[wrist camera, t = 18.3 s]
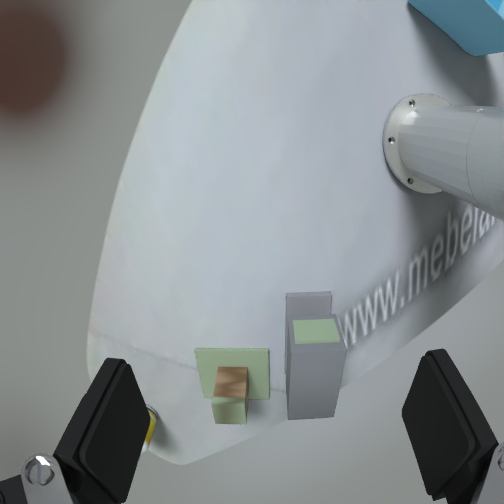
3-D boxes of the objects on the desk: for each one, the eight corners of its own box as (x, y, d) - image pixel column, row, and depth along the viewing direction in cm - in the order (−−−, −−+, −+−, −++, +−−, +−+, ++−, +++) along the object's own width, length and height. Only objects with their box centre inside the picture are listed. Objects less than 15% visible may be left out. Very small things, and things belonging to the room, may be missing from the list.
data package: (481, 37, 27) (536, 25, 16) (471, 58, 28) (528, 49, 17) (414, -20, 25) (457, -54, 14) (402, -1, 26) (446, -34, 15)
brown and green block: (247, 366, 47) (244, 405, 40) (248, 386, 49) (246, 424, 41) (218, 366, 47) (211, 404, 40) (221, 385, 49) (215, 423, 42)
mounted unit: (330, 291, 42) (347, 342, 32) (322, 367, 47) (332, 421, 37) (286, 293, 42) (291, 345, 32) (284, 369, 48) (287, 424, 38)
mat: (268, 348, 46) (268, 350, 46) (269, 396, 50) (269, 398, 50) (195, 348, 47) (194, 350, 46) (204, 395, 51) (204, 397, 50)
